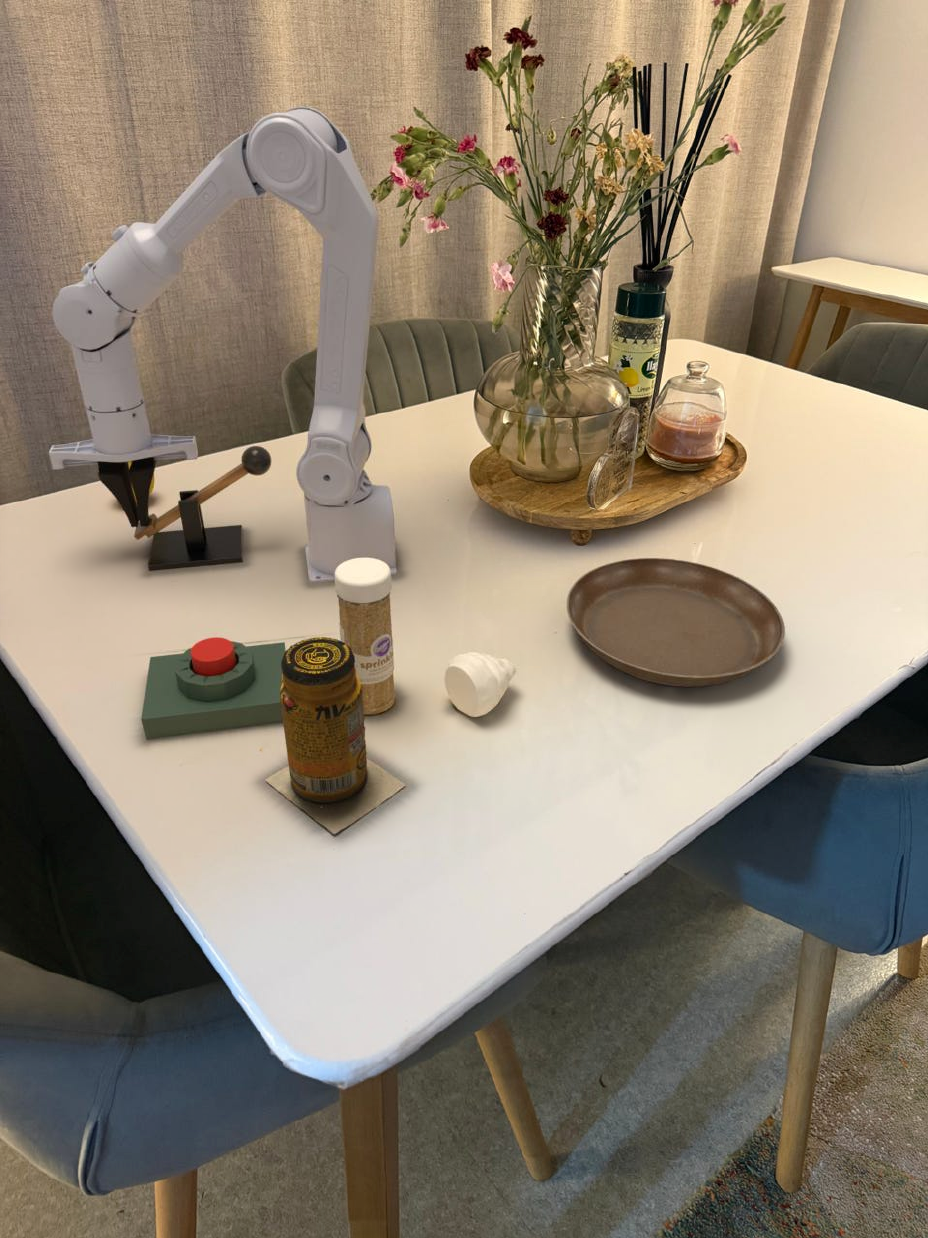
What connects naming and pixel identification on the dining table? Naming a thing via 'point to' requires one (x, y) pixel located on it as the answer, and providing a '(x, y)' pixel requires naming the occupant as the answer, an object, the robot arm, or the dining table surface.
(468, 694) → the white meringue
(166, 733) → the button box
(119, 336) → the robot arm
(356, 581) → the sprinkles bottle
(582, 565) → the dining table surface
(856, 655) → the dining table surface
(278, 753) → the dining table surface
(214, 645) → the button
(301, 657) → the condiment
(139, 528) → the lever
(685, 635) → the plant saucer
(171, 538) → the bracket
